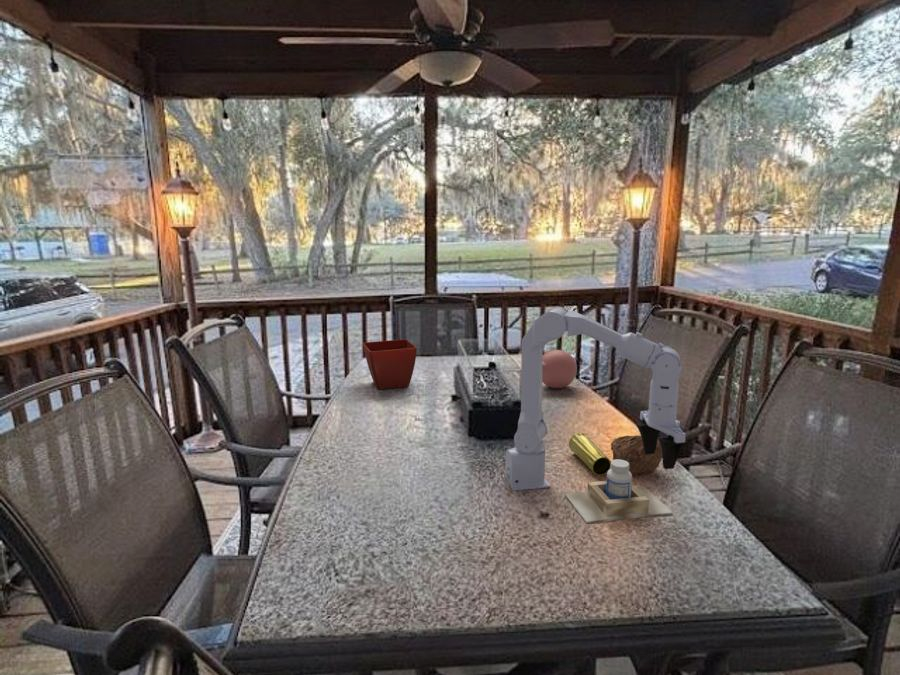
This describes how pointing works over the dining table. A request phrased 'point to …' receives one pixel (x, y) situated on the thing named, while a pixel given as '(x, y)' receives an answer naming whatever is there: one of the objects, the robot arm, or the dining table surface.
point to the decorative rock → (636, 454)
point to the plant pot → (390, 362)
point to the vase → (589, 454)
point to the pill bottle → (619, 480)
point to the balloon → (558, 369)
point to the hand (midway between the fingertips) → (658, 460)
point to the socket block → (615, 504)
